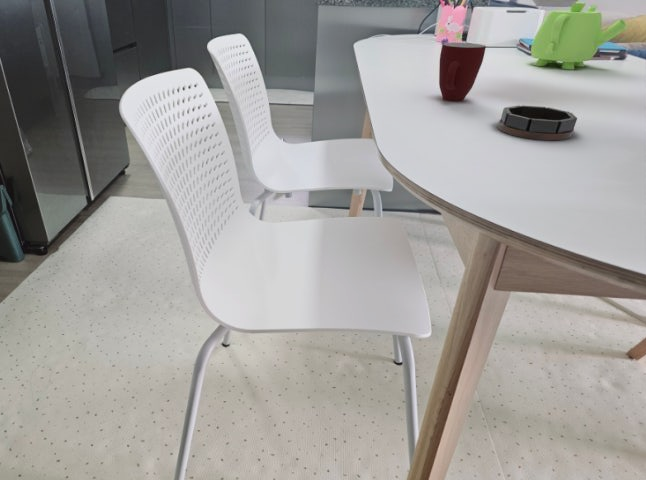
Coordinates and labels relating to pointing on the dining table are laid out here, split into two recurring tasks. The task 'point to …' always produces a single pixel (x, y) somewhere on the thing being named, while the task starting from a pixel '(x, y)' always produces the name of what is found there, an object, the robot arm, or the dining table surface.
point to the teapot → (572, 36)
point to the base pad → (537, 122)
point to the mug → (459, 69)
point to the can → (555, 3)
